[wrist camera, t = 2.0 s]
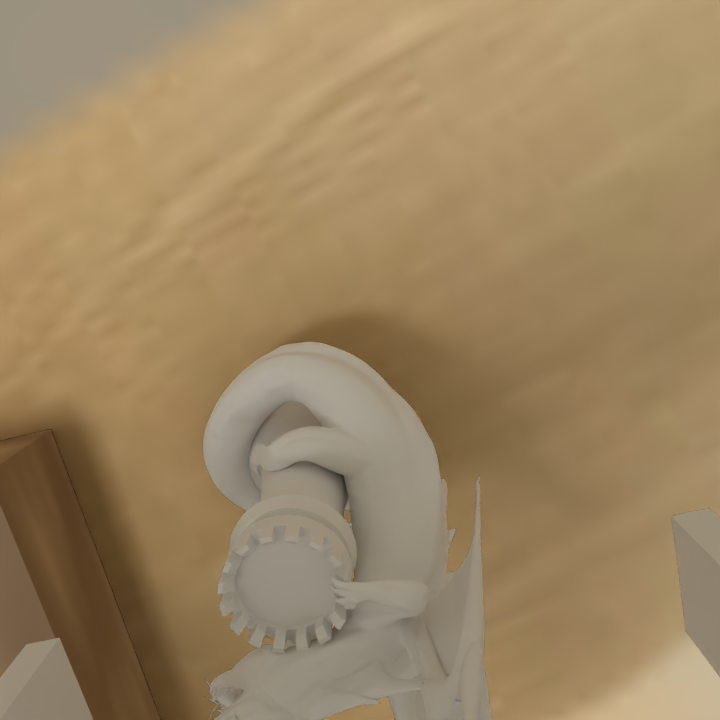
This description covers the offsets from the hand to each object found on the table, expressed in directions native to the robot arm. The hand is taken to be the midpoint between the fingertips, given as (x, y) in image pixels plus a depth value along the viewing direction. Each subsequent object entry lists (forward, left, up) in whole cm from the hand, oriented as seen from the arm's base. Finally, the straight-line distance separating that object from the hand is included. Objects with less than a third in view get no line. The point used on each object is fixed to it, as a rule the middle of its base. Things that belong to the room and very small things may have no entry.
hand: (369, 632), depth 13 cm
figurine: (0, 0, -8) cm, 8 cm away
